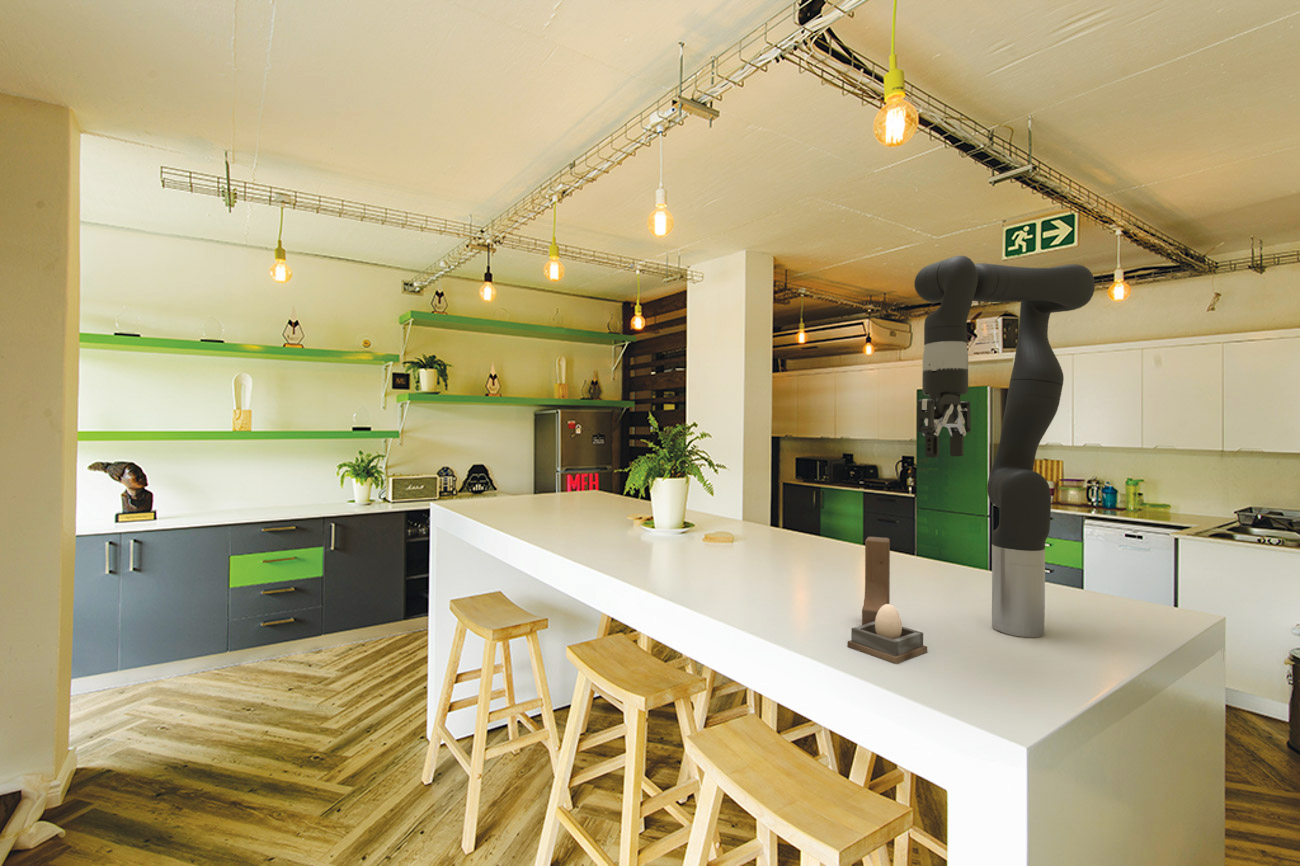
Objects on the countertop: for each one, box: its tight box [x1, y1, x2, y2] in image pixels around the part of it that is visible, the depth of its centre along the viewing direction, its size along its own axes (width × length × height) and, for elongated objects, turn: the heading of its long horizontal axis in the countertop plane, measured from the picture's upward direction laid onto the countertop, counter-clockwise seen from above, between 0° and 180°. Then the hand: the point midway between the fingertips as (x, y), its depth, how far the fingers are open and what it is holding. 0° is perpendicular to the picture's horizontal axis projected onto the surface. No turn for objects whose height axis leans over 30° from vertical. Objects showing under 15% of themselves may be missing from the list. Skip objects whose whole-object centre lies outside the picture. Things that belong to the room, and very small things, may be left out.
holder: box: [846, 621, 928, 665], centre depth 109 cm, size 10×10×4 cm
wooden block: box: [861, 536, 891, 625], centre depth 122 cm, size 9×4×18 cm, turn 152°
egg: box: [875, 604, 903, 640], centre depth 109 cm, size 5×5×7 cm
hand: (944, 456), depth 107 cm, fingers open, 8 cm apart
